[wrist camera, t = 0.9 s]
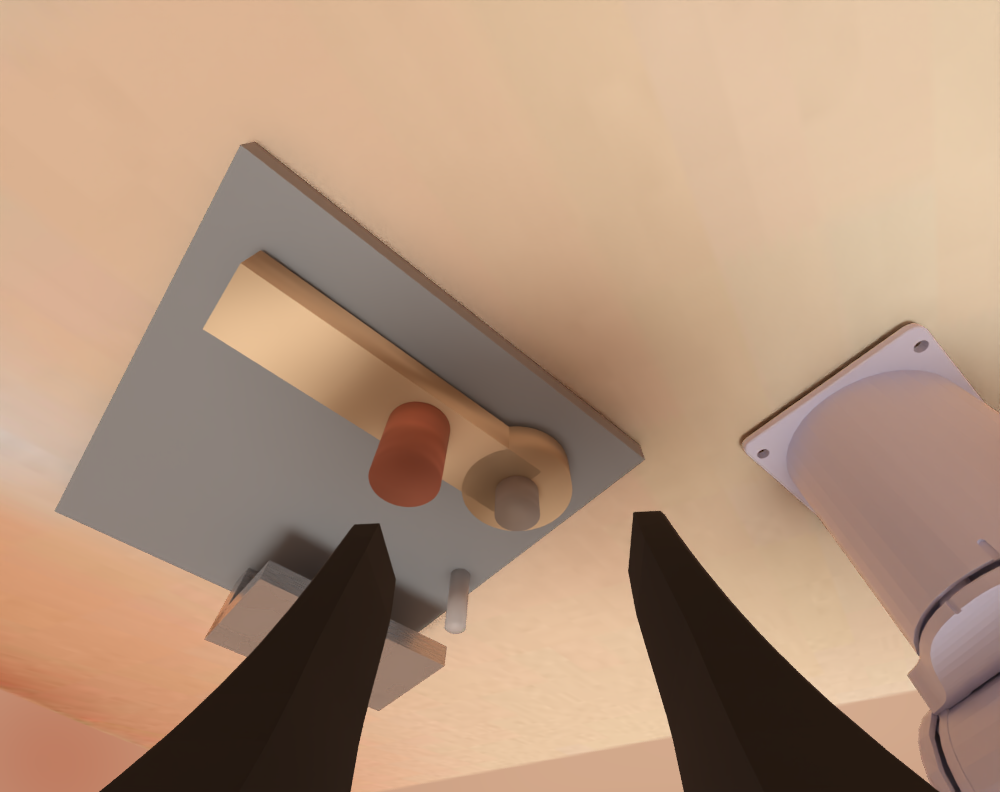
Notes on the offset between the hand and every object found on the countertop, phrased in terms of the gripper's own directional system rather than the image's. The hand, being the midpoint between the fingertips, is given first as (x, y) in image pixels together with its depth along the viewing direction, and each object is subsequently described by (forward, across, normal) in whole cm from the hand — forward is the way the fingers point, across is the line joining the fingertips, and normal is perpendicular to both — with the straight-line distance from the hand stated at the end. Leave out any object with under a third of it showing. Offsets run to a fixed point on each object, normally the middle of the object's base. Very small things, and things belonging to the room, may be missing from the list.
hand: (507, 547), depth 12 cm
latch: (+9, +4, +1) cm, 10 cm away
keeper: (+10, +10, +13) cm, 19 cm away
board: (+10, +8, +6) cm, 14 cm away
